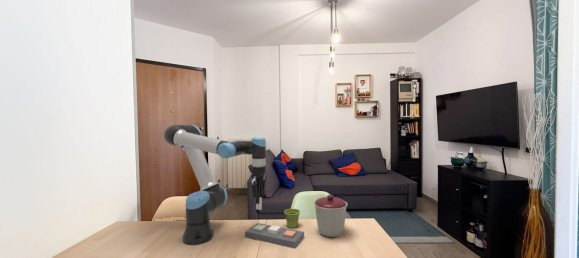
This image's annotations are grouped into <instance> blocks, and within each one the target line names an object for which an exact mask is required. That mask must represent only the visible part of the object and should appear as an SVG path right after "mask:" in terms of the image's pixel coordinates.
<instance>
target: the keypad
mask: <svg viewBox="0 0 579 258" xmlns="http://www.w3.org/2000/svg"><path fill="white" fill-rule="evenodd" d="M258 224H259V225H264V226H266V229H264V230H263V231H262V232H260V231H255V230H253V228H254V227H255V226H257V225H258ZM271 226H272V225H270V224H264V223H259V222H256V223H255V224H253V225H252V226H251V227H249V228H248V229H247V230H245V231H244V237H245V238H248V239H253V240H256V241H261V242H266V243H269V244H270V243H271V244H275V245H279V246H284V247H288V248H291V249H292V248H293V249H296V248H297V247H298V245H299V244H300V243H301V242H302V240H303V239H304V238H305V231H302V230H297V229H293V228H286V227H281V231H280V232H279V233H278V234H277V235H275V234H270V233H268V228H270V227H271ZM287 230H291V231H296V235H295V236H294V237H293V238H290V237H285V236H283V234H284V233H285V232H286V231H287Z"/></svg>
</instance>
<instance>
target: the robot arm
mask: <svg viewBox="0 0 579 258" xmlns="http://www.w3.org/2000/svg"><path fill="white" fill-rule="evenodd" d="M202 134H203V133H202V131H201V129H200V128H199V127H198V126H196V125H193V124H173V125H170V126H168V127H167V128H166V129H165V131H164V133H163V139H164V141H165V142H166V143H167V144H169V145H171V146H175V147H178V148H179V147H180V148H181V150H182V151H184V152H185V153H186V156H187V158H188V160H189V164H190V165H191V168H192V171H193V173H194V175H195V178H196V180H197V182H198V185H199V187H200V189H199V191H194V192H193V193H190V194H188V195H187V197H186V198H185V222H186V223H185V224H186V225H185V227H184V228H185V229H184V233H183V235H182V242H183V243H184V244H186V245H191V246H193V245H195V246H196V245H200V244H204V243H207V242H209V241H210V240H212V239H213V237H214V230H213V227H212V223H211V221H210V220H211V218H210V214H211V213H212V212H214V211H216V210H218V209H220V208H222V207H223V206H224V205H225V204H226V203H227V200H228V193H227V190H226V188H224V187H222V186H220V183H219V182H217V181H216V180H215V178H214V176H213V174H212V171H211V169H210V167H209V164H208V162H207V159H206V157H205V154H204V152H206V153H211V154H214V155H218V156H219V157H220V158H222V159H230V158H235V157H238V156H241V155H248V156H249V155H251V174H253V179H252V180H250V182H249V183H250V185H251V191H252V197H253V198H255V209H256V210H259V211H261V210H262V209H263V208H262V207H263V205H262V204H263V202H262V201H263V198H264V195H265V190H266V181H267V176H265V174H266V171H267V170H266V169H267V167H266V164H267V163H266V162H267V160H266V159H267V156H266V155H267V154H266V153H267V152H266V150H267V144H266V143H267V142H266V138H265V137H261V136H260V137H257V136H256V137H251V140H241V139H240V140H234V141H226V140H222V139H218V138H213V137H209V136H205V135H202Z"/></svg>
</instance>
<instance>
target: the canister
mask: <svg viewBox="0 0 579 258" xmlns="http://www.w3.org/2000/svg"><path fill="white" fill-rule="evenodd" d="M313 205H314V208H315V215H316V222H317V229H318V232H319V233H320V234H321V235H322V236H324V237H327V238H337V237H340V236H342V235H343V233H344V230H345V225H346V224H345V222H346V216H347V215H346V214H347V207H348V201H345V199H342V198H339V197H335V196H334V195H333V194H327V196H324V197H323V196H322V197H319V198H318V199H316V200H314V202H313Z"/></svg>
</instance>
